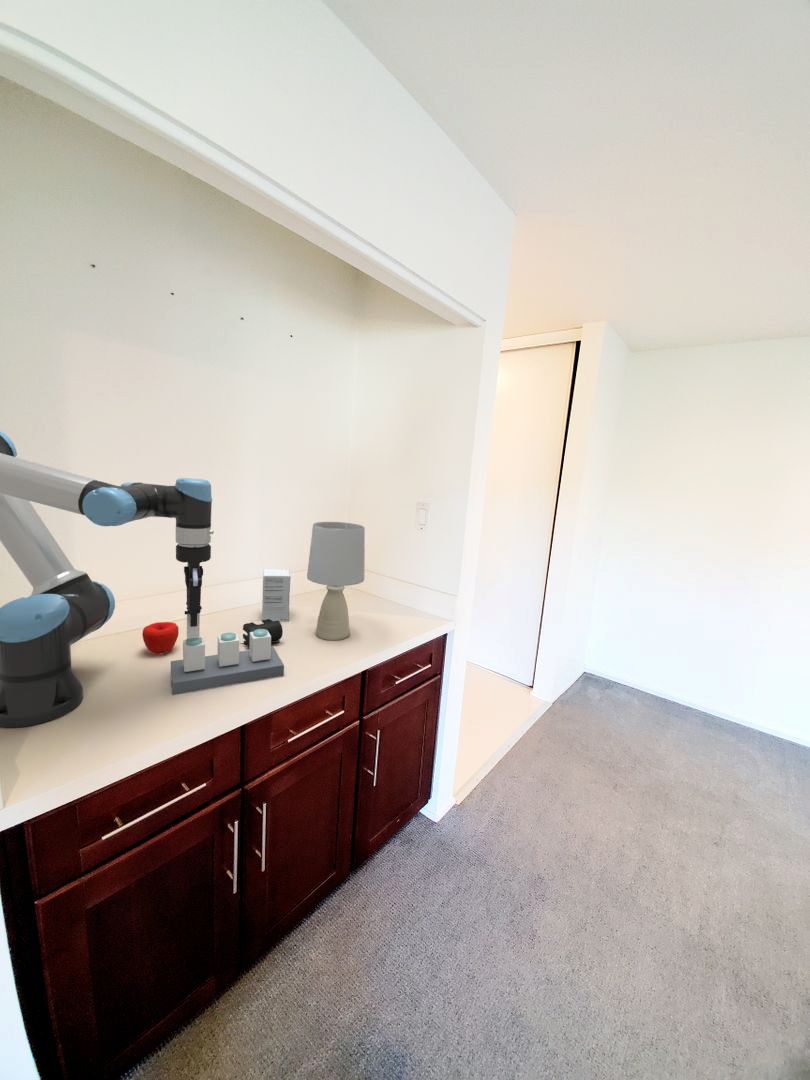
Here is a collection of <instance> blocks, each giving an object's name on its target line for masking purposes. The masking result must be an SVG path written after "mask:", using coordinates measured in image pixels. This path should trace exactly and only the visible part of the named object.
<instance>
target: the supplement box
mask: <svg viewBox="0 0 810 1080" xmlns="http://www.w3.org/2000/svg"><path fill="white" fill-rule="evenodd" d="M290 570H291V569H290V568H289V569H287V568H285V569H283V568H281V569H280V568H264V569H263V575H262V600H261V601H262V605H261V606H262V608H261V609H262V611H261V612H262V614H261V621H262V620H266V619H270V620H272V621H279V622H289V620H290V592H291V573H290Z"/></svg>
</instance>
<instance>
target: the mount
mask: <svg viewBox="0 0 810 1080" xmlns="http://www.w3.org/2000/svg"><path fill="white" fill-rule="evenodd" d="M217 656H218V654H213V655H211V654H210V655H205V669H201V670H195V671H188V672H184V666H183V659H177V660H170V680H171V694H172V696H174V695H180V694H181V695H182V694H186V693H193V692H198V691H203V690H204V691H205V690H209V689H216V688H218V687H219V688H220V687H227V686H232V685H238V684H243V683H249V682H254V681H261V680H266V679H272V678H277V677H278V678H279V677H284V676H285V675H284V673H285V664H284V663H283V661H282V659H281V657H280V656H279V654H278V652H277V650H276V649H275V647H274V646H271V658H270V659H267V660H260V661H254V662H253V661H252V659H251V657H250V655H249V650H248V649H247V650H241V651H240V650H239V664H234V665H227V666H221V667H220V666H219V662H218V659H217Z"/></svg>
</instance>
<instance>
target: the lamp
mask: <svg viewBox="0 0 810 1080" xmlns="http://www.w3.org/2000/svg"><path fill="white" fill-rule="evenodd" d="M365 530H366V529H365V526H364V525H362V524H361V525H360V524H358V523H357V524H356V523H351V522H341V521H318V522H317V521H316V522H315V523H313V524H312V531H311V537H310V546H309V554H308V555H309V556H308V563H307V572H306V573H307V574H306V578H307V580H308V581H310V582H312V583H315V584H317V585H323V586H326V587H325V588H326V590H327V592H326V594H325V596H324V598H323V601H322V602H321V605H320V609H319V615H318V617H317V622H316V623H317V624H316V629H315V634H316V636H317V637H318V638H320V639H322V640H325V641H341V640H343V639H346V638H348V637H349V636H350V620H349V619H350V618H349V609H348V605H347V601H346V596H345V594H344V589H346V588H345V587H348V586H349V587H350V586H355V585H359V584H361V583H363V582H364V581H365V554H366V553H365Z"/></svg>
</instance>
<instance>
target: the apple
mask: <svg viewBox="0 0 810 1080" xmlns="http://www.w3.org/2000/svg"><path fill="white" fill-rule="evenodd" d="M141 634H142V640H143V643H144V645H145V647H146V648H147V650H148V651H149V652H150V653H152V654H154V655H163V654H166V653H169V652H171V651H172V650H173V649H174V646H175V645H176V643H177V640H178V637H179V626H178V625H177V623H175V622H171V621H170V622H169V621H159V622H154V623H151V624H148V625H146V626H145V627H143V629H142V632H141Z"/></svg>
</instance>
